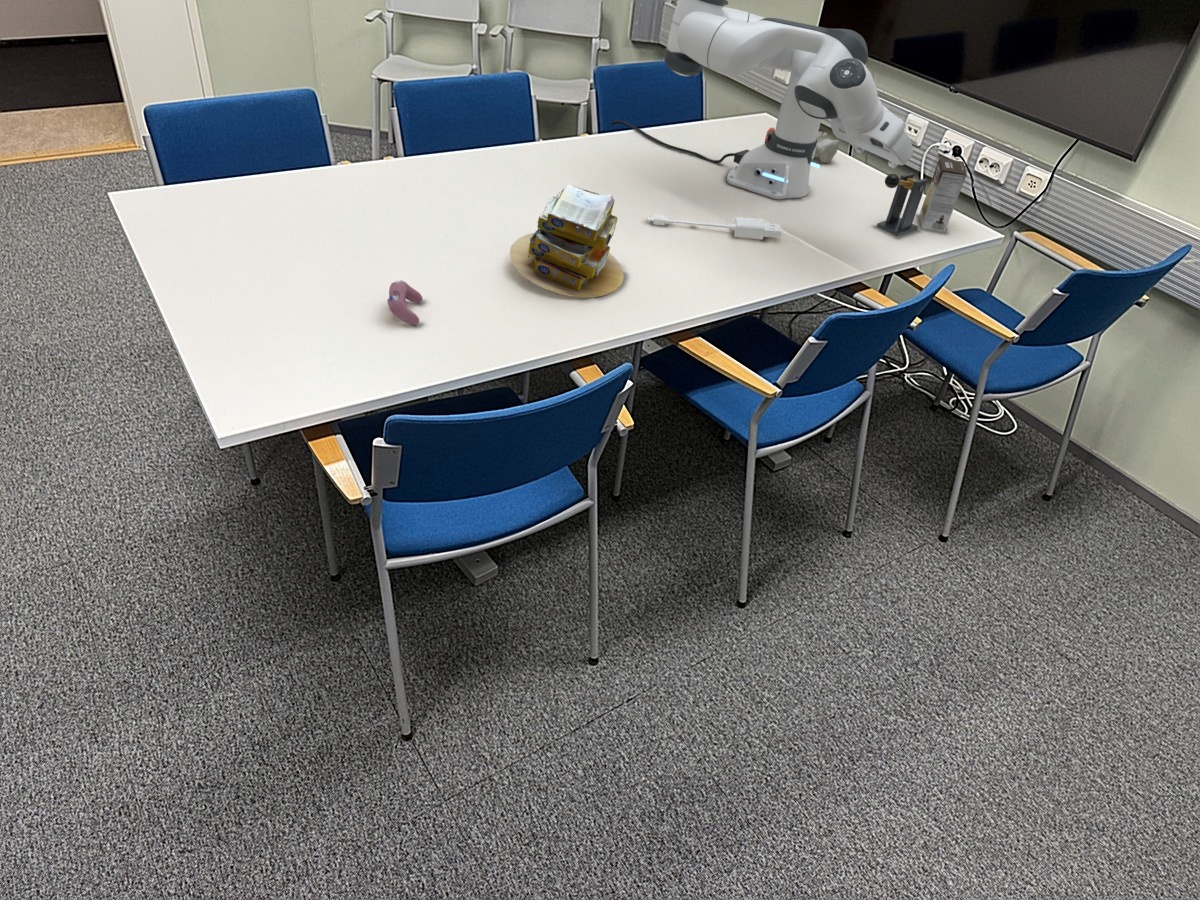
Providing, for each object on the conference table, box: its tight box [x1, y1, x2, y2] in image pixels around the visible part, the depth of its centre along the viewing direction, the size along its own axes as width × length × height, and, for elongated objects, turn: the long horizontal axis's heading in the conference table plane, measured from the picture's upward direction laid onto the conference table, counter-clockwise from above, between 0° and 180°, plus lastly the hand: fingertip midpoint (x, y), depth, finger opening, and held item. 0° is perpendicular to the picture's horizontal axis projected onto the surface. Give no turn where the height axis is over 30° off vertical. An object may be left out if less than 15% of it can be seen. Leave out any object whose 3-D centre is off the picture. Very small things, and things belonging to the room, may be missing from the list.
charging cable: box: [646, 214, 783, 241], centre depth 213 cm, size 5×32×3 cm, turn 86°
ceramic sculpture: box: [813, 128, 841, 164], centre depth 260 cm, size 11×9×15 cm
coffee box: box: [918, 157, 968, 233], centre depth 226 cm, size 9×6×16 cm
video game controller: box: [387, 279, 423, 326], centre depth 168 cm, size 10×5×7 cm, turn 5°
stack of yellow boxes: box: [509, 183, 625, 298], centre depth 184 cm, size 25×25×17 cm
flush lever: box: [884, 173, 918, 191], centre depth 216 cm, size 13×3×3 cm, turn 131°
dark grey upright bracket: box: [876, 172, 928, 237], centre depth 222 cm, size 9×6×14 cm
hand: (877, 157), depth 203 cm, fingers open, 8 cm apart
